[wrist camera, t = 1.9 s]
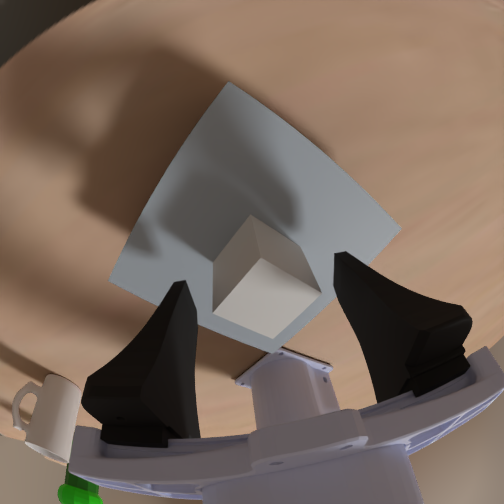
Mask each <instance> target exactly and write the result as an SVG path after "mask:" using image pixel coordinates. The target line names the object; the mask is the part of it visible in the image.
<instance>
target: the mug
mask: <svg viewBox="0 0 504 504" xmlns="http://www.w3.org/2000/svg"><path fill="white" fill-rule="evenodd" d="M30 392H31V393H33V394H35V395H36V396H37V402H36V405H35V408H34V411H33V414H32V417H31V420H30V423H29V424H26V423H25V422H23V421H22V419H21V417H20V414H19V405H20V402H21V400H22V398H23V397H24V396H25V395H26V394H27V393H30ZM80 399H81V390H80V389H79V388H78V387H77V386H76V385H75V384H74V383H72V382H71V381H69V380H68V379H66V378H64V377H61V376H58V375H54V374H49V375H47V376H46V378H45V380H44V383H43V385H42V387H40V386H38V385H36V384H35V383H33V382H32V381H30V382H28V383H27V384H26V385H25V386H24V387H23V388H21V389H20V390H19V391H18V392H17V394H16V395H15V397H14V400H13V403H12V416H13V427H15V428H17V429H18V430H24V431H25V432H26V439H25V441H24V442H25V444H27V445H28V446H29V447H30V448H32V449H33V450H35V451H37V452H39V453H41V454H43V455H45V456H47V457H49V458H52V459H54V460H57V461H60V462H63V463H69V459H70V453H71V447H72V440H73V434H74V429H75V423H76V418H77V414H78V409H79V404H80Z"/></svg>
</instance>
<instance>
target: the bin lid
mask: <svg viewBox="0 0 504 504" xmlns="http://www.w3.org/2000/svg"><path fill="white" fill-rule="evenodd" d="M401 229H402V228H401V227H400V226H399V225H398V224H397V223H396V222H395V221H394V220H393V219H392V218H391V216H390V215H389V214H388V213H387V212H386V211H385V210H384V209H383V208H382V207H381V206H380V205H379V204H378V203H377V202H376V201H375V200H374V199H373V198H372V197H371V196H370V195H369V194H368V193H367V192H366V191H365V190H364V189H363V188H362V187H361V186H360V185H359V184H358V183H357V182H356V181H355V180H354V179H352V178H351V177H350V176H349V175H348V174H347V173H346V172H345V171H344V170H343V169H342V168H341V167H339V166H338V165H337V164H336V163H335V162H334V161H333V160H332V159H330V158H329V157H328V156H327V155H326V154H325V153H324V152H322V151H321V150H320V149H319V148H318V147H317V146H315V145H314V144H313V143H312V142H311V141H309V140H308V139H307V138H306V137H304V136H303V135H302V134H301V133H300V132H298V131H297V130H296V129H295V128H293V127H292V126H291V125H289V124H288V123H287V122H286V121H284V120H283V119H282V118H280V117H279V116H278V115H276V114H275V113H274V112H272V111H271V110H270V109H268V108H267V107H265V106H264V105H263V104H261V103H260V102H259V101H257V100H256V99H254V98H253V97H251V96H250V95H249V94H247V93H246V92H244V91H243V90H241V89H240V88H238V87H237V86H235V85H234V84H232V83H231V82H229V81H228V83H227V84H226V85H225V86H224V88H223V89H222V90H221V92H220V93H219V94H218V96H217V97H216V98H215V100H214V101H213V102H212V104H211V105H210V106H209V108H208V109H207V110H206V112H205V113H204V114H203V116H202V117H201V119H200V120H199V121H198V123H197V124H196V126H195V127H194V129H193V130H192V132H191V133H190V134H189V136H188V137H187V139H186V140H185V142H184V143H183V145H182V146H181V148H180V150H179V151H178V153H177V154H176V156H175V157H174V159H173V160H172V162H171V164H170V165H169V167H168V168H167V170H166V172H165V173H164V175H163V177H162V178H161V180H160V182H159V183H158V185H157V187H156V188H155V190H154V192H153V194H152V195H151V197H150V199H149V201H148V202H147V204H146V206H145V208H144V209H143V211H142V213H141V215H140V217H139V219H138V221H137V222H136V224H135V226H134V228H133V230H132V232H131V234H130V236H129V238H128V240H127V242H126V244H125V246H124V248H123V250H122V252H121V254H120V256H119V258H118V260H117V262H116V264H115V267H114V269H113V271H112V273H111V275H110V278H109V280H108V281H109V282H111V283H113V284H115V285H117V286H119V287H120V288H122V289H124V290H126V291H128V292H130V293H132V294H134V295H136V296H138V297H140V298H142V299H144V300H146V301H148V302H150V303H152V304H154V305H157V306H159V305H160V303H161V302H162V300H163V298H164V297H165V295H166V294H167V292H168V290H169V289H170V287H171V286H172V284H173V283H174V282H176V281H182V280H186V282H187V284H188V287H189V290H190V293H191V295H192V298H193V301H194V304H195V306H196V309H197V319H198V325H201V326H203V327H205V328H208V329H210V330H212V331H215V332H217V333H220V334H222V335H225V336H227V337H229V338H232V339H235V340H237V341H240V342H242V343H245V344H247V345H250V346H253V347H255V348H258V349H261V350H263V351H266V352H269V353H272V354H273V353H274V352H275V351H277V350H278V349H279V348H280V347H281V346H282V345H284V344H285V343H286V342H287V341H288V340H289V339H291V338H292V337H293V336H294V335H295V334H296V333H297V332H299V331H300V330H301V329H302V328H303V327H304V326H305V325H306V324H308V323H309V322H310V321H311V320H312V319H313V318H314V317H315V316H316V315H317V314H319V313H320V312H321V311H322V310H323V309H324V308H325V307H326V306H327V305H328V304H329V303H330V302H331V301H332V300H333V299H335V298H336V297H337V295H336V293H335V290H334V287H333V275H334V253H338V252H343V251H347V252H348V253H350V254H351V255H353V256H354V257H356V258H357V259H358V260H360V261H361V262H363V263H364V264H366V265H367V266H368V265H369V264H370V263H371V261H372V260H373V259H374V258H375V257H376V256H377V255H378V254H379V253H380V252H381V251H382V250H383V249H384V248H385V247H386V245H387V244H388V243H389V242H390V241H391V240H392V239H393V238H394V237H395V236H396V234H397V233H398V232H399V231H400V230H401Z"/></svg>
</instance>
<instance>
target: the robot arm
mask: <svg viewBox="0 0 504 504" xmlns="http://www.w3.org/2000/svg"><path fill="white" fill-rule="evenodd" d="M333 287H334V290H335V293H336V295H337V298H338V301H339V303H340V305H341V307H342V309H343V311H344V313H345V315H346V317H347V319H348V321H349V322H350V324H351V326H352V328H353V330H354V332H355V334H356V336H357V338H358V341H359V343H360V346H361V348H362V351H363V354H364V357H365V360H366V363H367V366H368V369H369V373H370V376H371V380H372V383H373V387H374V391H375V396H376V400H377V404H375V405H372V406H369V407H366V408H363V409H359V410H354V409H344V410H340V407H339V404H338V401H337V398H336V395H335V392H334V389H333V386H332V383H331V380H330V377H329V374H328V373H329V372H330V371H332V370H333V367H332V366H331V365H328V364H325V363H322V362H320V361H317V360H314V359H311V358H308V357H305V356H302V355H300V354H297V353H294V352H291V351H289V350H286V349H283V348H281V347H280V348H279V349H278V350H277V351H275V352H274V353H273V354H272V353H268V354H267V355H266V356H264V357H263V358H262V359H261V360H259V361H258V362H257V363H256V364H255V365H253V366H252V367H251V368H250V369H248V370H247V371H246V372H245V373H243V374H242V375H241V376H240V377H238V378H237V379H236V380H235V384H236V385H240V386H243V387H247V388H250V389H252V397H253V405H254V412H255V420H256V427H257V430H255V431H253V432H251V433H250V434H244V435H235V436H225V437H212V438H201V436H200V430H199V423H198V414H197V405H196V393H195V357H196V345H197V333H198V319H197V309H196V306H195V304H194V301H193V298H192V295H191V293H190V290H189V287H188V284H187V282H186V280H182V281H176V282H174V283H173V284H172V286H171V287H170V289H169V290H168V292H167V294H166V295H165V297H164V298H163V300H162V302H161V303H160V305H159V306H158V308H157V309H156V311H155V312H154V314H153V315H152V317H151V318H150V319H149V321H148V322H147V324H146V325H145V326H144V327H143V329H142V330H141V331H140V332H139V333H138V335H137V336H136V337H135V338H134V339H133V340H132V341H131V342H130V343H129V344H128V345H127V346H126V347H125V348H124V349H123V350H122V351H121V352H120V353H119V354H118V355H117V356H116V357H114V358H113V359H112V360H111V361H110V362H108V363H107V364H106V365H105V366H103V367H102V368H100V369H99V370H97V371H96V372H95V373H93V374H92V375H90V376H89V377H87V381H86V384H85V388H84V391H83V395H82V399H81V404H82V406H83V408H84V409H85V410H86V411H87V412H88V413H89V414H90V415H92V416H93V417H94V418H95V419H97V420H98V421H99V422H100V423H102V430H100V429H97V428H93V427H86V426H79V425H77V426H76V428H75V432H74V438H73V443H72V448H71V454H70V461H69V467H68V471H69V472H70V473H72V474H74V475H76V476H78V477H80V478H83V479H85V480H87V481H89V482H92V483H94V484H96V485H99V486H102V487H107V488H111V489H117V490H122V491H127V492H133V493H139V494H145V495H153V496H160V497H170V498H180V499H196V500H203V504H424V502H423V498H422V495H421V492H420V489H419V486H418V483H417V480H416V477H415V474H414V471H413V468H412V466H411V463H410V460H409V457H408V455H410V454H412V453H414V452H416V451H418V450H420V449H422V448H424V447H426V446H427V445H429V444H431V443H433V442H435V441H436V440H438V439H440V438H441V437H443V436H445V435H446V434H448V433H450V432H451V431H453V430H455V429H456V428H458V427H459V426H461V425H462V424H464V423H466V422H467V421H468V420H470V419H471V418H473V417H474V416H476V415H477V414H479V413H480V412H482V411H483V410H485V409H486V408H487V407H488V406H489V405H490V404H491V403H492V402H493V401H494V400H495V399H496V398H497V397H498V396H499V395H500V394H501V393H502V391H503V390H504V373H503V371H502V369H501V368H500V366H499V365H498V363H497V362H496V360H495V359H494V357H493V355H492V354H491V352H490V351H489V349H488V348H487V346H484V347H483V348H481V349H479V350H478V351H476V352H474V353H472V354H471V355H470V356H468V357H467V358H466V357H465V356H464V353H465V349H464V347H463V346H462V344H463V343H464V341H465V339H466V337H467V336H468V334H469V332H470V330H471V327H472V322H473V321H472V318H471V317H470V316H469V314H468V313H467V312H466V310H465V309H464V308H463V307H462V306H461V305H456V304H451V303H446V302H442V301H439V300H435V299H432V298H429V297H426V296H423V295H421V294H418V293H416V292H413V291H411V290H409V289H407V288H405V287H403V286H400V285H398V284H396V283H395V282H393V281H391V280H389V279H388V278H386V277H384V276H383V275H381V274H379V273H378V272H376V271H375V270H373V269H372V268H370V267H369V266H367V265H366V264H364V263H363V262H361V261H360V260H358V259H357V258H356V257H354V256H353V255H351V254H350V253H348V252H347V251H343V252H338V253H334V275H333Z"/></svg>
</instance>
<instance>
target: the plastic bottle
mask: <svg viewBox="0 0 504 504" xmlns="http://www.w3.org/2000/svg"><path fill="white" fill-rule="evenodd" d="M72 443H73V440H72ZM71 448H72V447H71ZM70 454H71V453H70ZM69 461H70V459H69ZM68 467H69V463H67V469H66V476H65V484H63V485H61V486H60V487H59V489H58V498H59V501H60V502H61V503H62V504H103V501H102V499H101V498H100V497H99V495H98V489H99V485H96V484H94V483H92V482H89V481H87V480H85V479H83V478H80V477H78V476H76V475H74V474H72V473H70V472H69V471H68Z"/></svg>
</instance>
